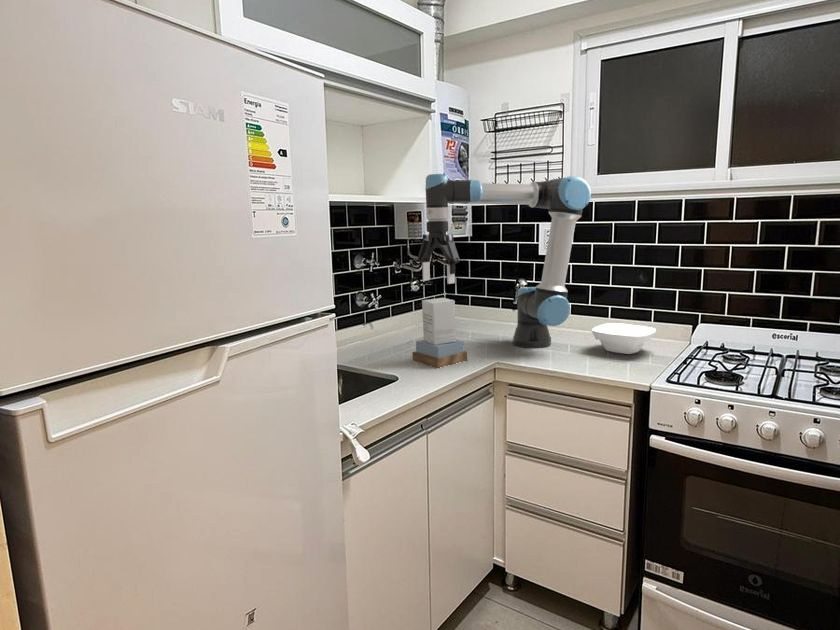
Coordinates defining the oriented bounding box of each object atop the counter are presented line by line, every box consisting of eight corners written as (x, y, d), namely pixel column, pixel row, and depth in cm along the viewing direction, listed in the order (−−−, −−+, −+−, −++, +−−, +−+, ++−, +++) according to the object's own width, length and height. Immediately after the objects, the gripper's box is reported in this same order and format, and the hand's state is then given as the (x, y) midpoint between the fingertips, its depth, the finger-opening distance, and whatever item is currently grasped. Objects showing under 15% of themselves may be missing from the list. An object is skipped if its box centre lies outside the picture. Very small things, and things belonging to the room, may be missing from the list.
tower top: (440, 346, 200) (440, 336, 199) (463, 352, 191) (463, 341, 190) (416, 352, 193) (415, 341, 192) (438, 358, 184) (438, 347, 183)
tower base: (441, 355, 203) (441, 345, 202) (467, 362, 192) (467, 352, 191) (412, 362, 194) (412, 351, 193) (437, 370, 183) (437, 359, 182)
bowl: (607, 342, 214) (608, 321, 212) (661, 350, 200) (662, 328, 198) (584, 352, 199) (584, 330, 197) (639, 362, 185) (641, 338, 183)
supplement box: (445, 337, 197) (443, 297, 194) (456, 341, 189) (455, 300, 186) (422, 340, 193) (421, 299, 191) (434, 345, 185) (432, 303, 183)
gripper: (407, 221, 191) (408, 280, 195) (452, 220, 172) (453, 285, 175) (423, 220, 196) (424, 278, 199) (470, 219, 176) (470, 283, 180)
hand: (438, 281), depth 187 cm, fingers open, 13 cm apart
